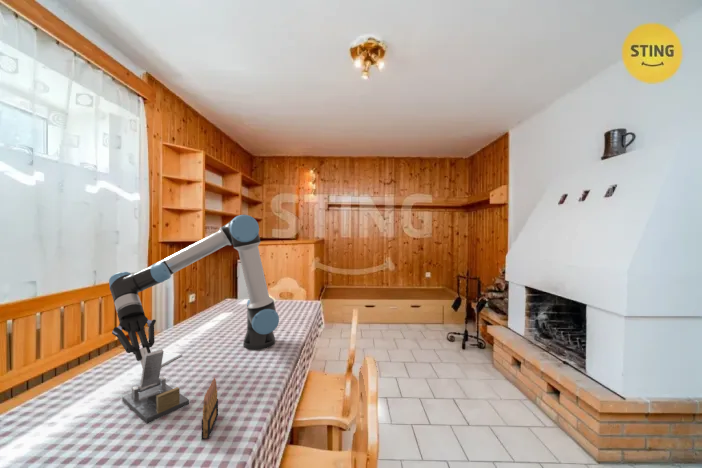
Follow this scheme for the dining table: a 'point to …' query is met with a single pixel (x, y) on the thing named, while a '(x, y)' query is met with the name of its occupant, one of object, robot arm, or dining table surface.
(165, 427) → the dining table surface
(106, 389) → the dining table surface
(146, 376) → the strap
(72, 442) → the dining table surface
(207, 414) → the ammunition clip
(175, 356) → the external hard drive
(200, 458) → the dining table surface
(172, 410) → the latch board
